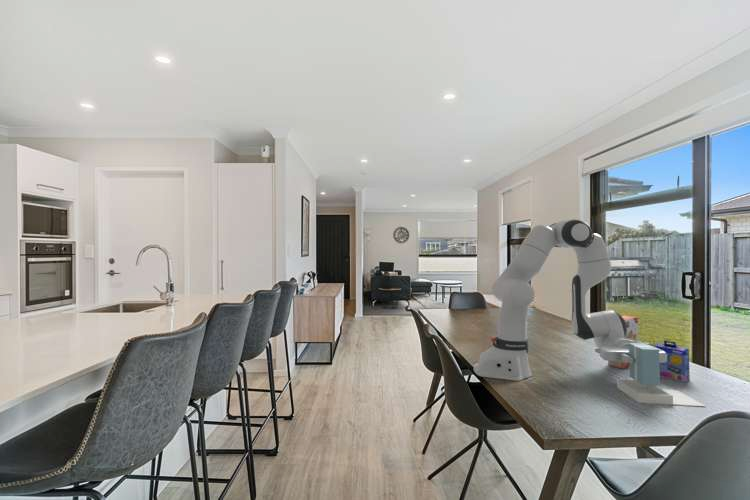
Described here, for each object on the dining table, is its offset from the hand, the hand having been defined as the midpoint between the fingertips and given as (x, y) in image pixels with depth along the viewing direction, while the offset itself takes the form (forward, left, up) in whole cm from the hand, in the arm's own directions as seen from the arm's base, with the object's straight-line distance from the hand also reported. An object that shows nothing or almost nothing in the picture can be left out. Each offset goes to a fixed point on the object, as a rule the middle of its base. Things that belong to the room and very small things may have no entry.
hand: (644, 361), depth 117 cm
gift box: (0, 0, -7) cm, 7 cm away
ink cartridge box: (+21, +21, -12) cm, 32 cm away
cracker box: (+11, +35, -12) cm, 39 cm away
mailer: (+4, 0, -12) cm, 13 cm away
